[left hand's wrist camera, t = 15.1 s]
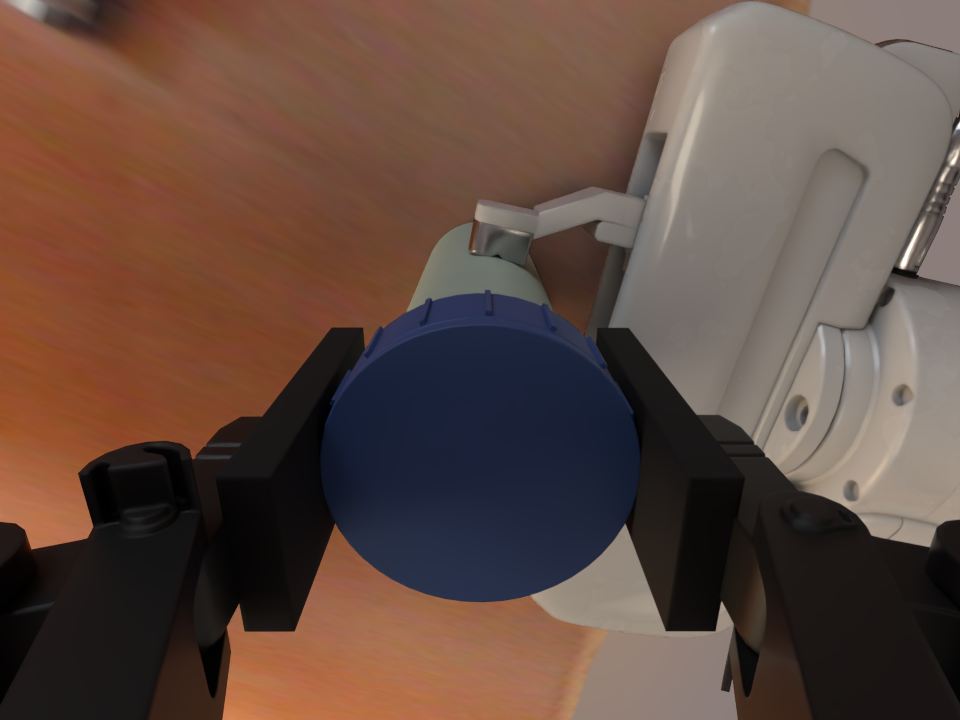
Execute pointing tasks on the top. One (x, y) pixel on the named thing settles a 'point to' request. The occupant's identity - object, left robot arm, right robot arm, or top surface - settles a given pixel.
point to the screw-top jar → (475, 273)
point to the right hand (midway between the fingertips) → (453, 317)
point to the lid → (480, 450)
